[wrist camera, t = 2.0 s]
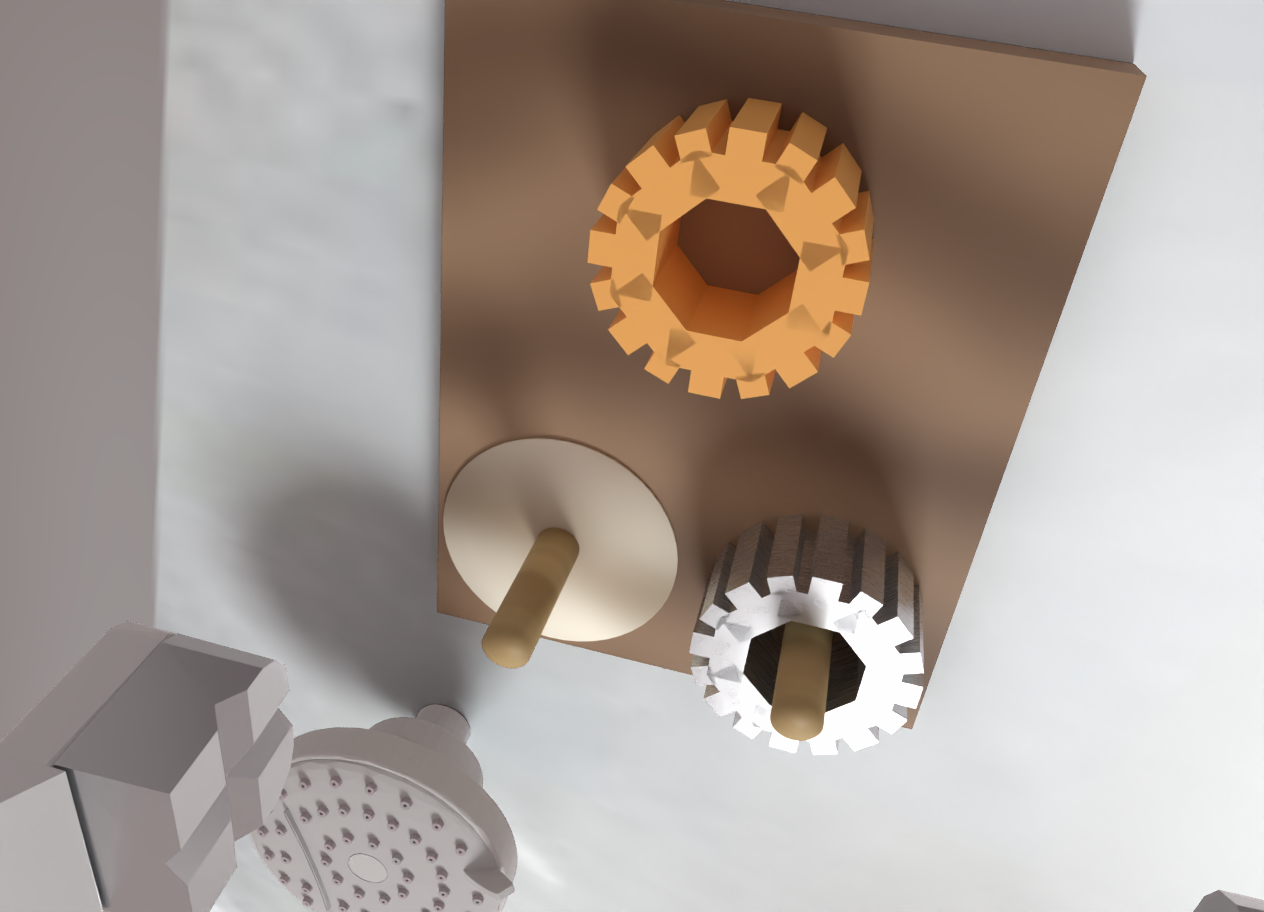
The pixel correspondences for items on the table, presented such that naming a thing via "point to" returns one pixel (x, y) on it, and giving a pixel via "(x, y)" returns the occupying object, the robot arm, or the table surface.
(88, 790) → the robot arm
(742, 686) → the gear
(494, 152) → the gear board
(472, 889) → the showerhead
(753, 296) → the gear
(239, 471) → the table surface
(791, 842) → the table surface
